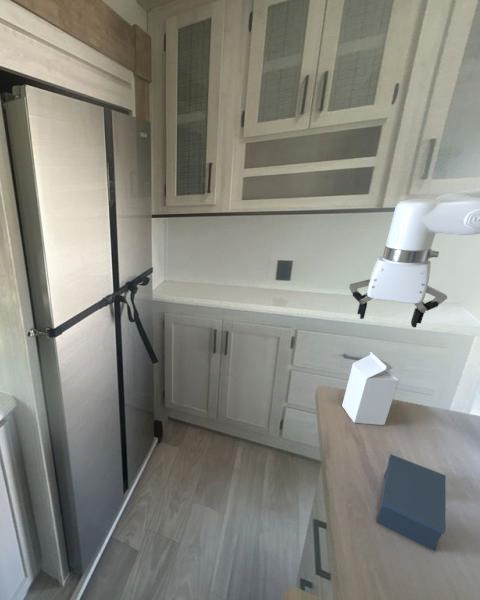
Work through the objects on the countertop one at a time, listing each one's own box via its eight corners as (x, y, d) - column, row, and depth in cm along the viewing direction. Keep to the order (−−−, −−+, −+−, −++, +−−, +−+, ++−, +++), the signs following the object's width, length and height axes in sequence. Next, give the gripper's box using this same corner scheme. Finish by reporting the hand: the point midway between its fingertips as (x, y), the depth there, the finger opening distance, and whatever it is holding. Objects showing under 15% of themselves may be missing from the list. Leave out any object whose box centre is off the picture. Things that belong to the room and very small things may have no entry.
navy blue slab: (383, 472, 77) (390, 453, 75) (436, 495, 71) (445, 475, 69) (374, 521, 67) (382, 500, 65) (435, 551, 62) (445, 530, 59)
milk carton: (353, 423, 91) (369, 365, 84) (341, 406, 97) (355, 350, 90) (384, 425, 89) (403, 367, 82) (370, 408, 96) (386, 352, 88)
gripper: (457, 253, 73) (434, 322, 80) (357, 248, 84) (344, 308, 90) (463, 262, 68) (437, 335, 75) (356, 255, 79) (342, 319, 85)
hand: (386, 320), depth 83 cm, fingers open, 9 cm apart
